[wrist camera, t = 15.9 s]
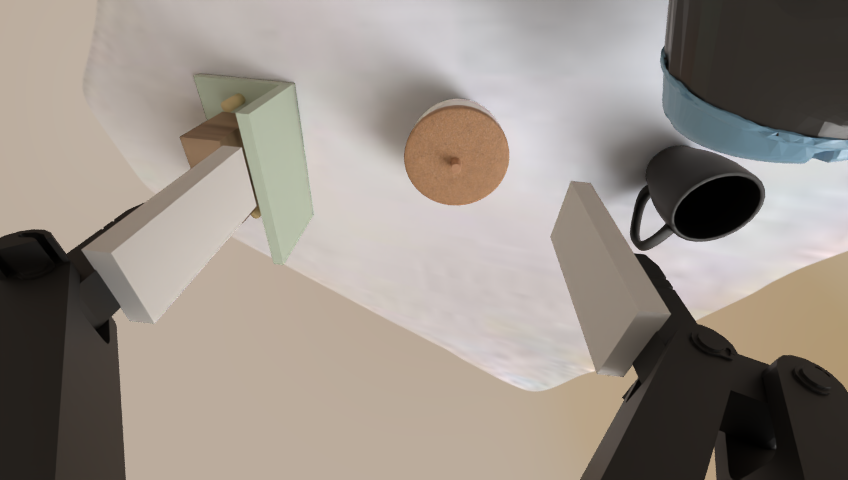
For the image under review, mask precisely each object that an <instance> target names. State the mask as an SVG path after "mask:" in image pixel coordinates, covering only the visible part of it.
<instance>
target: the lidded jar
mask: <svg viewBox="0 0 848 480" xmlns="http://www.w3.org/2000/svg"><path fill="white" fill-rule="evenodd" d="M404 162H405V168H406V172H407V174H408V177H409V179H410V180H411V182H412V184H413V185H414V186H415V187H416V188H417V190H418V191H420V192H421V193H422V194H423V195H424V196H426V197H428V198H429V199H431V200H433V201H435V202H438V203H442V204H447V205H466V204H470V203H473V202H476V201H478V200H481V199H482V198H484V197H486V196H487V195H489V194H490V193H491V192H493V191H494V190H495V189H496V188H497V187H498V185H499V184H500V183H501V181H502V180H503V178H504V176H505V174H506V171H507V168H508V164H509V148H508V143H507V139H506V137H505V134H504V132H503V130H502V129H501V126H500V124H499V123H498V121H497V119H496V118H495V117H494V116H493V115H492V113H491V112H490V111H489V110H487V109H486V108H485V107H483V106H482V105H480V104H478V103H476V102H473V101H471V100H466V99H449V100H445V101H442V102H440V103H438V104H436V105H434V106H432V107H431V108H429V109H428V110H427V111H426V112H425V113H424V114H423V115H422V116H421V117H420V118H419V120H418V121H417V122H416V124H415V126H414V128H413V130H412V131H411V133H410V135H409V137H408V140H407V143H406V147H405V153H404Z"/></svg>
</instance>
